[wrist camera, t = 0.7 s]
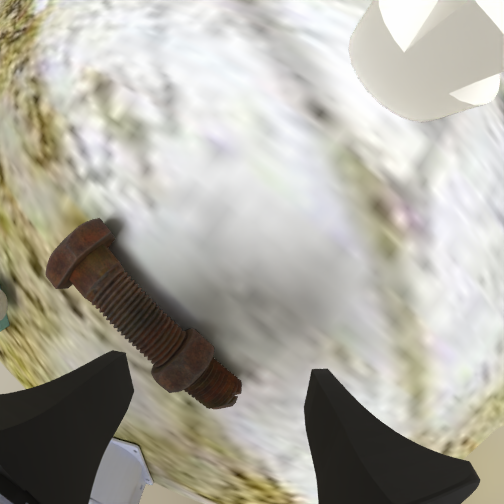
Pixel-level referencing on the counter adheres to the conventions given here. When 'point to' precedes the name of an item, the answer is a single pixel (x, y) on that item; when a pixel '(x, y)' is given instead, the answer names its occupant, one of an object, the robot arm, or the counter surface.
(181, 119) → the counter surface
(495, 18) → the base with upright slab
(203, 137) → the counter surface
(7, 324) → the teal rectangular block
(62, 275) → the bolt
